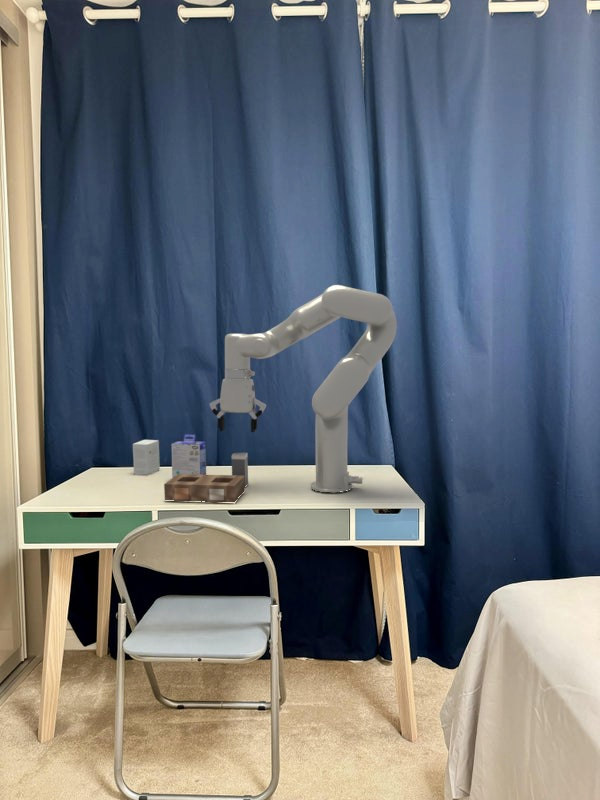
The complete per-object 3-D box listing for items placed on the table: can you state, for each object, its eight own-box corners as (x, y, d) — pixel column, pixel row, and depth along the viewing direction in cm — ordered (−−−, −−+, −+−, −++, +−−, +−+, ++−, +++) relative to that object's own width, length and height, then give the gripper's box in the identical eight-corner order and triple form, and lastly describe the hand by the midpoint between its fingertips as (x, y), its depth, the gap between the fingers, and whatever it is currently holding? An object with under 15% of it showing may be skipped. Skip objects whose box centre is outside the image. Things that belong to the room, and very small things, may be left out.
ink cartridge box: (207, 478, 194) (206, 434, 192) (201, 482, 189) (200, 437, 187) (178, 477, 196) (177, 433, 194) (171, 481, 191) (170, 436, 189)
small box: (145, 469, 208) (144, 439, 207) (160, 470, 207) (159, 440, 206) (133, 474, 201) (132, 443, 199) (148, 475, 199) (147, 444, 198)
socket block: (244, 492, 177) (244, 475, 176) (234, 504, 165) (234, 486, 164) (179, 490, 179) (178, 474, 179) (164, 501, 167) (163, 484, 167)
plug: (248, 484, 186) (247, 452, 185) (245, 487, 182) (244, 455, 181) (235, 484, 186) (234, 452, 185) (232, 487, 182) (231, 455, 181)
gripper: (268, 374, 183) (268, 430, 185) (213, 373, 185) (213, 428, 187) (263, 376, 175) (263, 434, 177) (205, 375, 178) (206, 432, 180)
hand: (237, 431), depth 182 cm, fingers open, 9 cm apart
